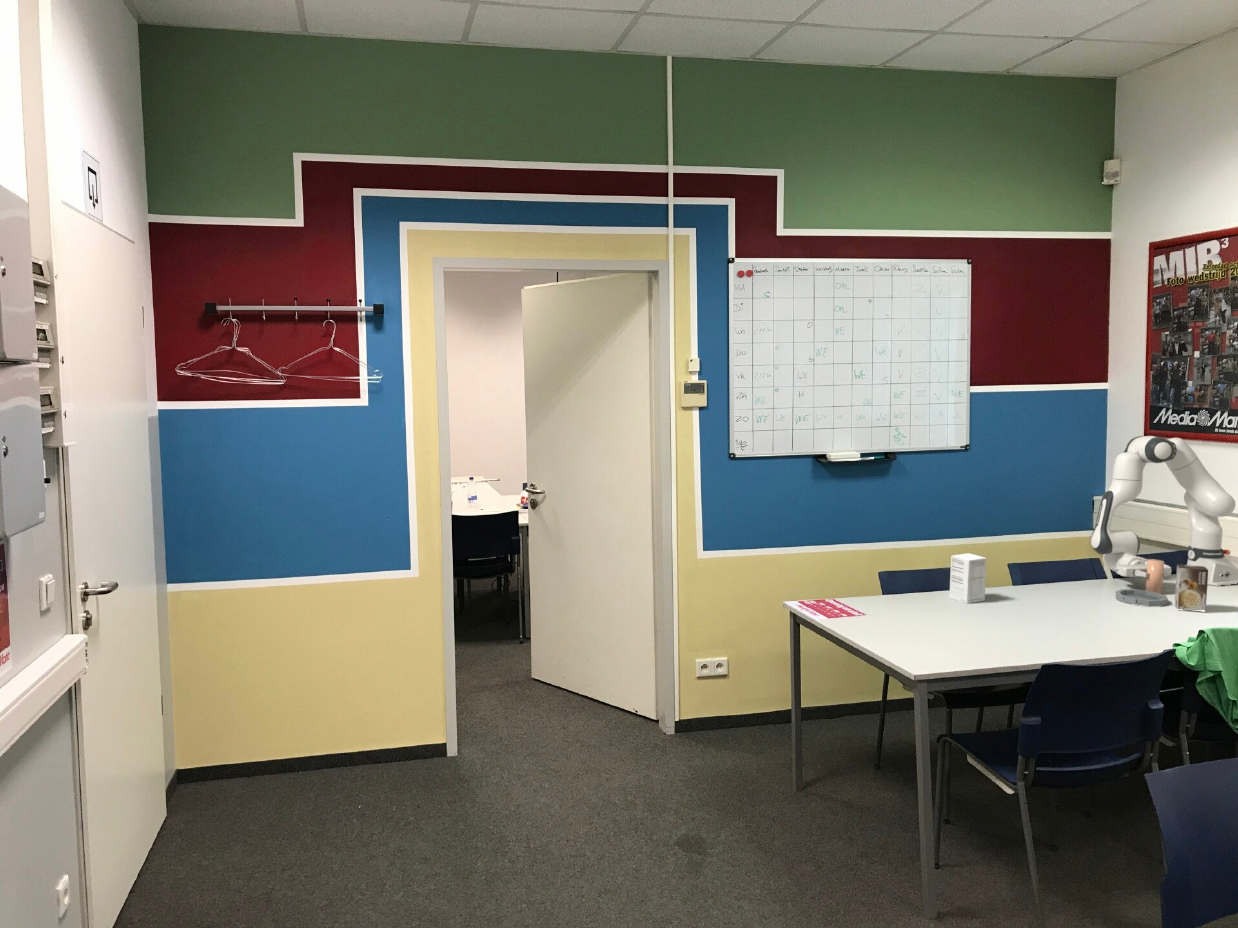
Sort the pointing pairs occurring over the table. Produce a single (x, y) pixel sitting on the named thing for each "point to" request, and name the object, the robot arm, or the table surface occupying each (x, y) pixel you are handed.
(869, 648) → the table surface
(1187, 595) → the coffee box
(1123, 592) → the tray
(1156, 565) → the peach cylinder
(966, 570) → the supplement box
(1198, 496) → the robot arm
